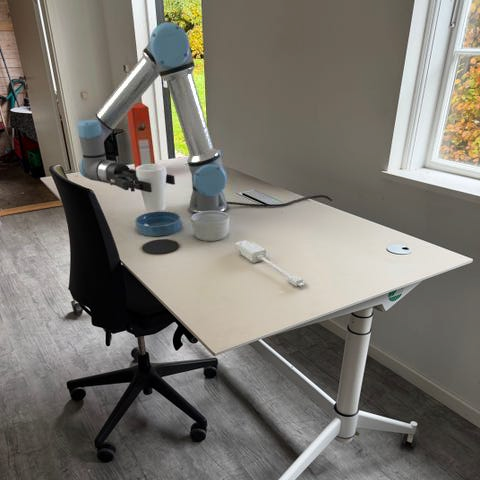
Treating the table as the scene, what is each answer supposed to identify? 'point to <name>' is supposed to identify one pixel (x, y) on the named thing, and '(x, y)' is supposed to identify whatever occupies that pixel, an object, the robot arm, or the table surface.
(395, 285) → the table surface
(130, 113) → the file binder
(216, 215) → the ramekin
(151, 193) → the foam cup
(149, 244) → the mat
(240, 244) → the charging cable
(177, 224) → the bowl
